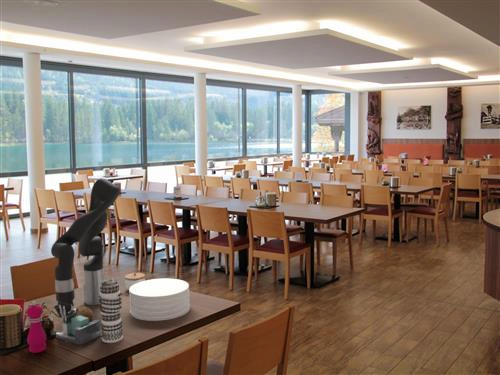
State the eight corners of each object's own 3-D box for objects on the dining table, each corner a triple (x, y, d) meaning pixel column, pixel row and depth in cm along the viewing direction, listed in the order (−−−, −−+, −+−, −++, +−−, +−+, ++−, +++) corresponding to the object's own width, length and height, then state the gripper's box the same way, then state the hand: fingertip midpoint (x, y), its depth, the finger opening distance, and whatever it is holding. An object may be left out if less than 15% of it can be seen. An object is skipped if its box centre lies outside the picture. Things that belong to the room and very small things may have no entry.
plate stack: (172, 296, 282) (171, 275, 280) (200, 311, 259) (199, 288, 258) (120, 308, 265) (119, 285, 264) (146, 325, 243) (145, 300, 241)
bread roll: (71, 331, 247) (72, 318, 243) (67, 316, 255) (68, 303, 251) (94, 327, 252) (95, 314, 248) (89, 312, 259) (90, 299, 255)
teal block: (72, 334, 230) (71, 318, 230) (80, 331, 234) (78, 315, 233) (82, 337, 227) (80, 321, 226) (89, 334, 230) (88, 317, 230)
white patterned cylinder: (112, 332, 235) (109, 276, 232) (128, 336, 230) (125, 278, 227) (96, 340, 227) (92, 281, 224) (112, 344, 223) (109, 284, 219)
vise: (56, 337, 231) (55, 323, 230) (77, 329, 240) (76, 314, 239) (80, 345, 223) (79, 329, 222) (100, 335, 232) (99, 321, 231)
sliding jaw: (63, 334, 230) (62, 321, 229) (80, 327, 237) (79, 315, 236) (67, 335, 228) (66, 322, 228) (84, 328, 236) (83, 316, 235)
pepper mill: (31, 346, 223) (27, 298, 220) (49, 345, 223) (46, 297, 221) (25, 353, 216) (21, 304, 213) (44, 352, 216) (40, 303, 214)
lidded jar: (129, 286, 300) (128, 269, 299) (148, 286, 299) (147, 269, 298) (122, 292, 289) (121, 275, 288) (142, 292, 288) (141, 275, 287)
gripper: (82, 289, 232) (84, 328, 234) (62, 284, 239) (64, 322, 241) (67, 293, 226) (70, 334, 228) (47, 288, 233) (49, 327, 235)
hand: (67, 327), depth 235 cm, fingers closed
